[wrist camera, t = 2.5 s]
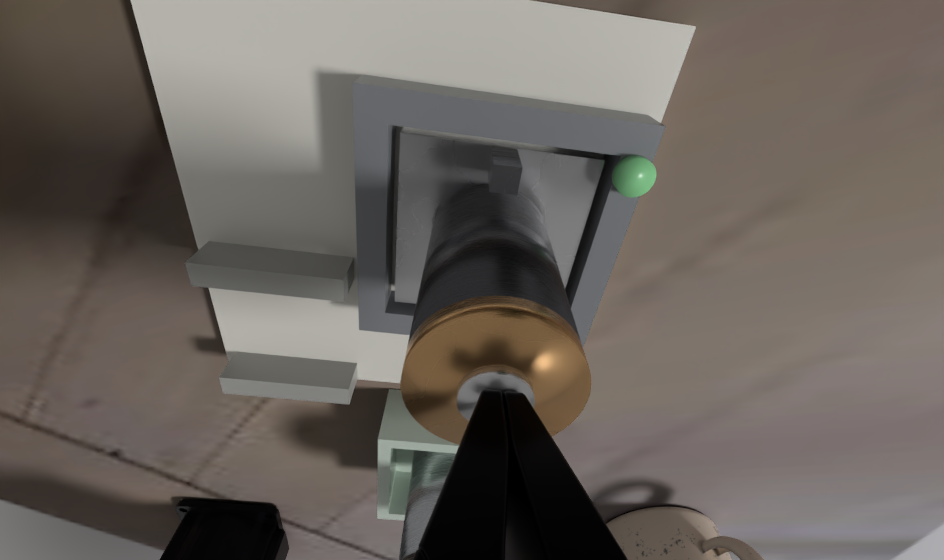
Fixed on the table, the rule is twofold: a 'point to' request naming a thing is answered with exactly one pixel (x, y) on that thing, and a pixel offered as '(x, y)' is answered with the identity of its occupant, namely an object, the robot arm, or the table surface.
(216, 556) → the robot arm
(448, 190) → the cradle
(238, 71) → the white square base board
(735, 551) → the teacup with lid
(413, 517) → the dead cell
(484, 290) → the cell
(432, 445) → the cup
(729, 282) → the table surface
